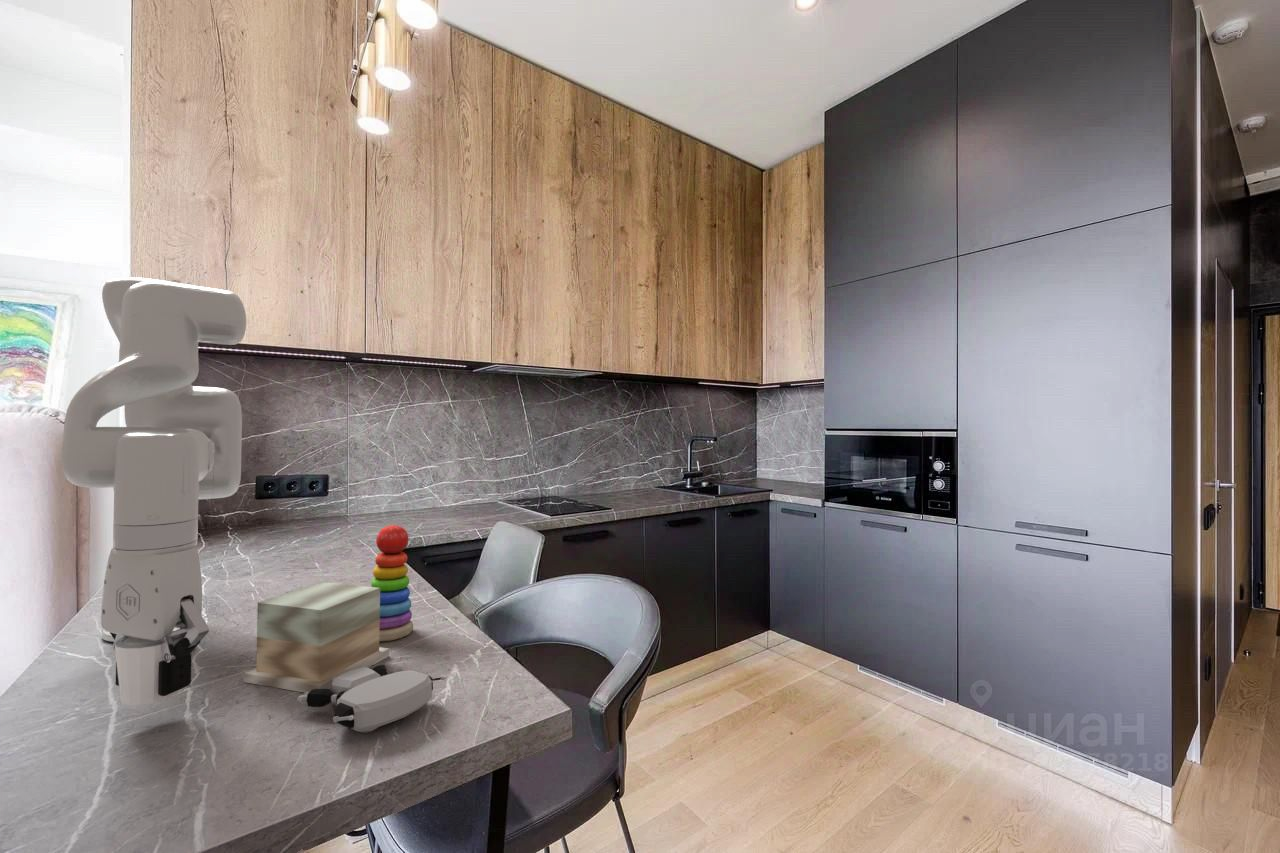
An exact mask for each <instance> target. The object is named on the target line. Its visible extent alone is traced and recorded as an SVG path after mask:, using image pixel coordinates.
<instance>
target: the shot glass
mask: <svg viewBox="0 0 1280 853" xmlns="http://www.w3.org/2000/svg"><path fill="white" fill-rule="evenodd" d="M178 629H180V628H179V627H177V626H175V627H174V629H173V631H175V630H178ZM171 639H172V643H173V647H174V646H175V645H176V644H177V643H178V641H179V640H181V639H183V637H181V636H180V635H177V636H174V637H171ZM114 652H115V663H116V662H117V671H118V680H119V686H118V688H119V697H120V698H119V699H120V702H121V704H122V705H125V706H127V707H128V706H129V707H137V706H146V705H151V704H155V703H159V702H163V701H166V700H168V699H170V698H172V697H175V696H176V695H178V694H180V693H181V692H182V691H183V690H184V688H182V689H180V690H177V691H175V692H173V693H170V694H168V695H166V696H160V695H158V675H159V662H161V661H163V660H164V658H163V655H162V651H161V644H160V643H159V640H156V641H151V640H144V639H139V638H134V637H129V636H125V637H122V638H120V639H118V640H117V641H116V643H115V651H114Z"/></svg>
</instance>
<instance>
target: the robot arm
mask: <svg viewBox="0 0 1280 853" xmlns="http://www.w3.org/2000/svg"><path fill="white" fill-rule="evenodd" d="M101 292H102V293H101V295H102V296H101V297H102V303H103V309H104V312H105V314H106V318H107V320H108V323H109V324H110V327H111V328H112V332H114V334H115V336H116V338H117V340H118V342H119V351H118V362H117V363H115V364H114V365H112V366H110V367H107V368H106V369H104V370H103V371H100V372H99V373H98V374H96V375H95V376H94V377H92V378H91V379H89V380H88V381H87V382H86V383H84V384H83V386H82V387H80V388H79V389H78V390H77V392H76V393H75V394H74V395H73V397H72V398H71V400H70V402H69V404H68V406H67V409H66V413H65V418H64V426H63V433H62V442H61V452H60V466H61V469H62V473H63V475H64V477H65V478H66V479H67V481H68V482H69V483H71V484H72V485H75V486H77V487H81V488H86V489H100V488H101V489H105V488H106V489H107V488H109V489H110V488H113V522H112V523H113V526H112V527H113V528H112V547H111V549H110V553H109V555H108V559H107V563H106V568H105V574H104V581H103V588H102V599H101V610H100V612H101V613H100V625H101V628H102V629H103V630H102V632H101V638H102V639H103V640H104V641H107V642H110V643H112V642H113V645H112V648H113V651H114V652H115V643H116V641H117V640H118V639H120V638H122V637H125V636H129V637H134V638H139V639H144V640H151V641H156V640H159V643H160V644H161V651H162V655H163V658H164V660H163V661H161V662H159V675H158V695H160V696H166V695H168V694H170V693H173V692H175V691H177V690H180V689H182V688H183V689H184V688H186V687H188V686H190V685H191V683H192V655H193V653H195V652H196V650H197V647H198V646H199V644H200V643H201V641H202V640H203V639H204V638H205V637H206V636H207V635H208V633H209V632H210V627H209V625H208V624H207V623H206V621H205V619H204V618H203V616H202V614H203V613H202V612H203V583H202V582H203V581H202V579H203V578H202V571H201V570H202V569H201V562H200V555H199V550H198V546H197V545H198V535H199V533H198V531H199V530H198V529H199V500H211V499H212V500H213V499H222V498H229V497H231V496H233V495H235V493H236V492H238V490H239V487H240V484H241V480H242V479H241V478H242V449H243V448H242V444H243V441H242V440H243V438H242V437H243V434H242V433H243V432H242V431H243V415H242V414H243V413H242V405H241V402H240V399H239V397H238V395H237V394H236V393H235V392H233V391H232V390H229V389H227V388H222V387H214V386H195V385H193V384H192V383H194V382H195V381H196V379H197V377H198V376H199V371H200V368H199V366H200V364H199V343H206V344H216V345H227V346H232V345H233V346H235V345H237V344H240V342H241V341H242V340H243V339H244V336H245V334H246V330H247V313H246V310H245V306H244V303H243V301H242V300H241V298H240V297H239V296H238V294H236V293H235V292H233V291H231V290H224V289H219V288H212V287H207V286H205V287H204V286H198V285H191V284H185V283H179V282H173V281H167V280H161V279H153V278H144V277H135V276H134V277H133V276H131V277H129V276H128V277H127V276H126V277H125V276H123V277H115V278H114V277H113V278H112V279H109V280H107V281H106V282H105V283H104V285H103V286H102V291H101ZM121 407H124V420H125V421H124V423H125V426H97V425H98V422H99V421H100V420H101V419H102V418H103V417H104V416H106V415H107V414H108V413H110V412H112V411H113V410H116V409H118V408H121ZM175 626H177V627H179V628H180V629H178V630H175V631H173V629H174V627H175ZM177 635H180V636H181V637H183V639H181V640H179V641H178V643H177V644H176V645H175V646H174V647H173V643H172V639H171V637H174V636H177ZM115 685H116V686H118V687H119V680H118V671H117V662H116V661H115Z"/></svg>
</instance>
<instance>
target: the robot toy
mask: <svg viewBox="0 0 1280 853" xmlns="http://www.w3.org/2000/svg"><path fill="white" fill-rule="evenodd" d="M447 678H448V677H447V676H446V675H442V676H440V677H439V676H438V677H432V676H430V675H428V674H426V673H424V672H423V673H422V672H420V671H416V670H412V669H408V670H402V671H401V670H400V671H397V672H393V673H389V674H388V670H387V667H386V665H382V664H379V665H376V666H375V667H372V668H371V667H369V668H368V667H364V668H357V669H354V670H351V671H348V672H345V673H343V674H340V675H339V676H338V677H337V676H336V677H334V678H332V688H331V689H313V690H311V691H310V692H306V693H304V692H303V693H302V694H301V695H299V696H297V699H296V701H297V703H299V704H304V703H306V704H307V707H308V708H322V707H325V706H327V705H329V704H330V703H332V704H334V705H335V706H334V707H333V714H334V715H333V717H332V720H333V723H336V724H338V725H340V726H343V727H345V728H347V729H351V730H353V731H356V732H360V733H363V734H364V733H369V732H373V731H375V730H376V729H378V728H379V727H381V726H385V725H388V724H391V723H392V722H395V721H398V720H401V719H403V718H405V717H407V716H409V715H410V714H411V715H412V713H414V712H416V711H418V710H419V709H421V708H422V707H424V706H425V705H427V703H428V702H429V701H430V700H431V699H432V697H433V690H434V682H436V681H440V680H441V681H445V680H447Z"/></svg>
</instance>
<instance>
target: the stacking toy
mask: <svg viewBox="0 0 1280 853" xmlns="http://www.w3.org/2000/svg"><path fill="white" fill-rule="evenodd" d="M375 540H376V541H375V542H376V547H377V548H378V550H379V551H380V552H381V553H379V554H377V555H376V557H375V560H374V562H375V564H376V566H375V567H374V568H373V570H372V575H373V577H374V578H373V579H371V584H370V585H371V586H370V587H376V588H380V629H379V642H390V641H396V640H399V638H400V639H402V638H404V636H405V637H406V635H407V636H408V635H409V634H411V632H412V631H413V629H414V623H413V621H412V616H413V613H412V610H411V608H412V600H411V598H409V597H410V595H411V591H410V588H409V587H408V586H409V584H410V578H409V576H408V575H407V574H408V571H409V569H408V566H407V565H406V563H407V562H408V555H407V554H406V552H403V551H404V550H405V549H406V547H407V545H408V544H409V543H408V542H409V534H408V532H407V530H406V529H405V528H404V527H403V526H401V525H398V524H397V525H395V524H391V525H386V526H385V527H383V528H382V529H380V530H379V532H378V533H377V536H376V538H375Z"/></svg>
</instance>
